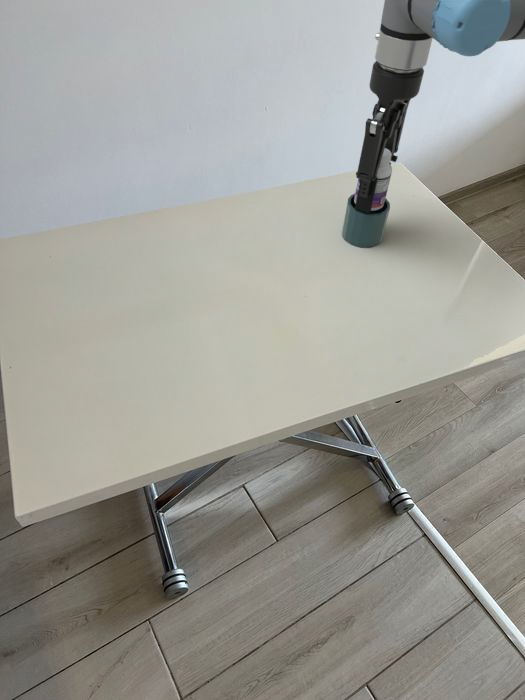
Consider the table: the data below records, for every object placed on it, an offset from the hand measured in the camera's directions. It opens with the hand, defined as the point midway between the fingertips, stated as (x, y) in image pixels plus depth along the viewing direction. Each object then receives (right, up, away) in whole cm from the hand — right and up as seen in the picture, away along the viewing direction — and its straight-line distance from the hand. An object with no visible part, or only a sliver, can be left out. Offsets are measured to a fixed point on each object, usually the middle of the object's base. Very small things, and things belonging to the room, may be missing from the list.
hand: (369, 201), depth 95 cm
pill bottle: (0, 0, 0) cm, 1 cm away
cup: (0, -5, +5) cm, 7 cm away
